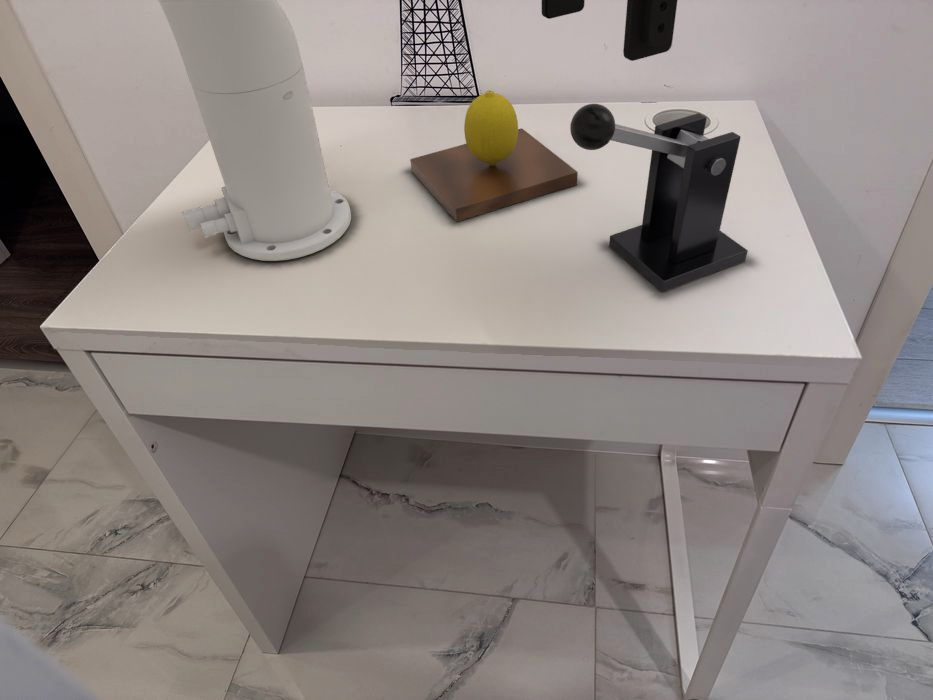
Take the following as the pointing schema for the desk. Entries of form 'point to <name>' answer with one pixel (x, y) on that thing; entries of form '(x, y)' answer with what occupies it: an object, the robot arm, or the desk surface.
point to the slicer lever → (625, 134)
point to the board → (492, 177)
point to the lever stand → (684, 211)
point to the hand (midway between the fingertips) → (602, 32)
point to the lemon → (491, 128)
